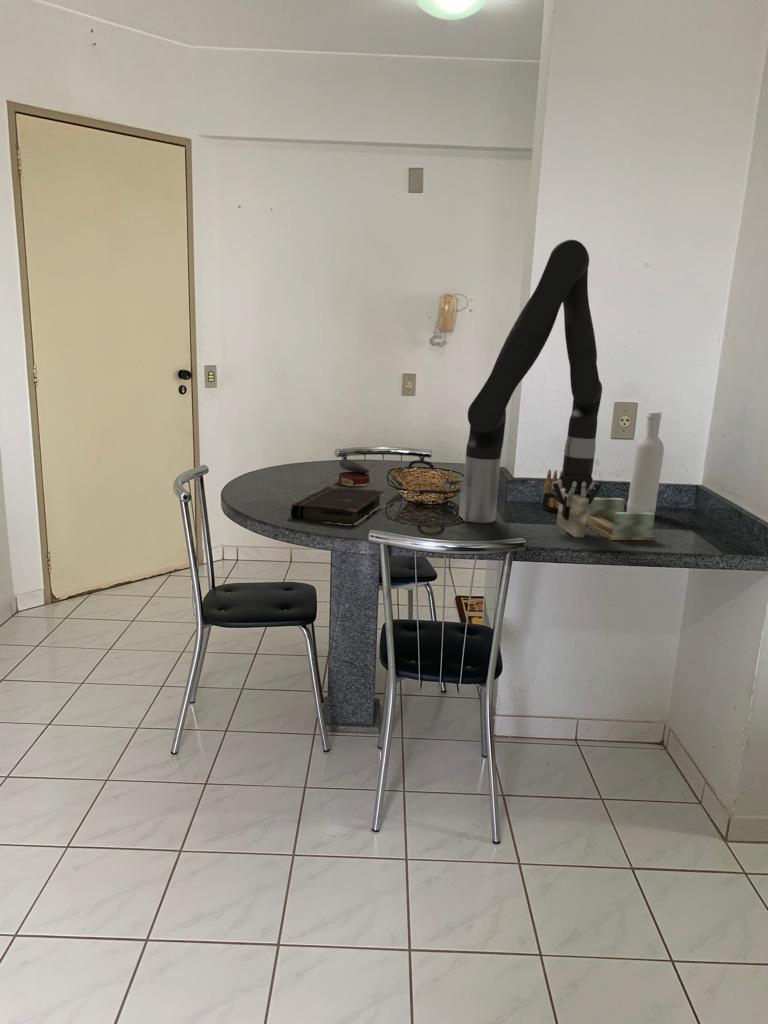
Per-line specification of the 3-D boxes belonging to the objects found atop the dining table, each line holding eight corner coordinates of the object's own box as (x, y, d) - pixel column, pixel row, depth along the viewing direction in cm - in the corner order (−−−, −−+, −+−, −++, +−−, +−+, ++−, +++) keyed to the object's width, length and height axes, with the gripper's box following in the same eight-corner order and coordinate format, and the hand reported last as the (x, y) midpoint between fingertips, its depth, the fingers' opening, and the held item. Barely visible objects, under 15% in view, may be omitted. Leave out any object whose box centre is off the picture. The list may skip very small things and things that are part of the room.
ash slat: (574, 537, 192) (579, 498, 190) (556, 524, 204) (560, 488, 201) (584, 537, 193) (588, 499, 190) (565, 524, 204) (569, 488, 202)
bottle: (642, 510, 227) (656, 410, 219) (660, 517, 219) (675, 413, 212) (620, 511, 224) (634, 410, 216) (638, 518, 217) (652, 413, 209)
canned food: (337, 496, 243) (330, 467, 245) (366, 491, 247) (358, 463, 249) (348, 487, 233) (341, 456, 235) (378, 482, 237) (370, 452, 239)
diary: (289, 521, 195) (289, 502, 194) (324, 501, 218) (324, 484, 217) (357, 529, 190) (358, 510, 189) (386, 508, 213) (387, 491, 212)
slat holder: (610, 540, 191) (614, 513, 189) (581, 522, 208) (584, 497, 206) (654, 540, 193) (658, 514, 191) (621, 522, 210) (624, 498, 208)
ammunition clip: (541, 509, 220) (545, 469, 217) (542, 508, 222) (547, 468, 219) (578, 515, 216) (583, 473, 214) (579, 513, 218) (584, 472, 215)
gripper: (559, 456, 188) (551, 523, 193) (611, 457, 191) (602, 523, 195) (548, 451, 196) (541, 515, 200) (598, 452, 198) (590, 516, 202)
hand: (571, 519), depth 197 cm, fingers closed on ash slat, 2 cm apart
